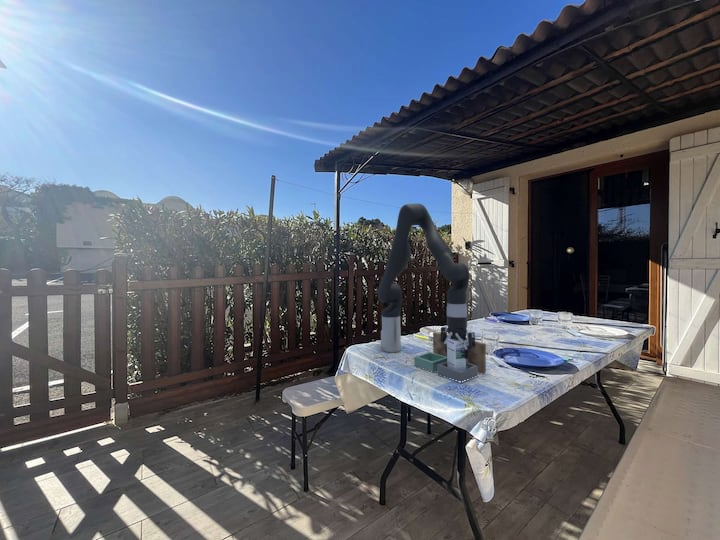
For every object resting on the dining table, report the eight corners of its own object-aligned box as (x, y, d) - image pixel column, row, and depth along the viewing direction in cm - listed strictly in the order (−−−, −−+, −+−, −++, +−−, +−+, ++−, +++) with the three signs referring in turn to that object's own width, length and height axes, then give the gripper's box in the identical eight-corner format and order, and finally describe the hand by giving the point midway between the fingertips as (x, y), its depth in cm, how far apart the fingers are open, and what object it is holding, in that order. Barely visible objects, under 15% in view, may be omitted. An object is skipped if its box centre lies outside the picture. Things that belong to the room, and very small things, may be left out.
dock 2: (437, 374, 123) (437, 364, 123) (454, 368, 130) (454, 358, 130) (461, 383, 114) (461, 372, 114) (478, 375, 121) (478, 365, 121)
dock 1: (414, 365, 134) (414, 356, 133) (430, 360, 140) (429, 351, 139) (432, 372, 126) (432, 362, 125) (448, 366, 132) (448, 357, 131)
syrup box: (455, 379, 119) (454, 341, 118) (446, 373, 124) (446, 337, 124) (468, 377, 120) (468, 340, 119) (459, 371, 126) (459, 336, 125)
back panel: (433, 358, 142) (433, 332, 142) (435, 357, 143) (435, 331, 143) (483, 374, 122) (483, 344, 122) (485, 373, 123) (485, 343, 123)
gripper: (435, 313, 124) (436, 353, 125) (467, 318, 113) (467, 362, 114) (447, 311, 129) (448, 349, 130) (478, 315, 118) (479, 358, 118)
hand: (457, 355), depth 122 cm, fingers open, 8 cm apart
